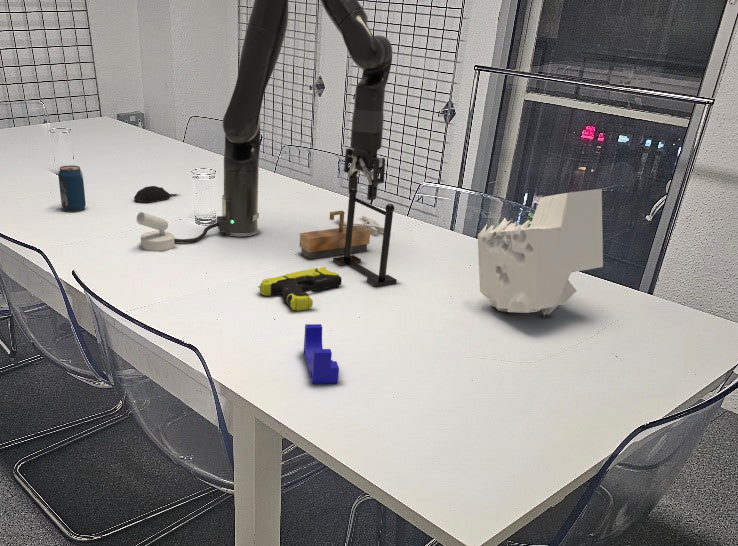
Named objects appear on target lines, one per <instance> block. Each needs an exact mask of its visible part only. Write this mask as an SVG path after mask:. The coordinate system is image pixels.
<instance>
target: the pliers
mask: <svg viewBox="0 0 738 546" xmlns="http://www.w3.org/2000/svg"><path fill="white" fill-rule="evenodd" d="M361 219H362V220H364V224H361V223H353V226H358V225H361V226H363V227H365V228H367V229H369V230H370V231H371V232H370V235H373V236H378V234H381V235H383V233H384V226H381V225H379V224H376V223H375V221H374V220H373V219H372V218H370V217H367V216H364V215H362V216H361ZM339 220H340V219H336V223H337V224H339ZM343 227H347V221H346V222H345V221H344V224H343Z"/></svg>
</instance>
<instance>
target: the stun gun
mask: <svg viewBox="0 0 738 546" xmlns="http://www.w3.org/2000/svg"><path fill="white" fill-rule="evenodd" d="M342 280H343V279H342V276H340V274H339V273H337V272H335V271H331V270H329V269H327V267H325V266H321V267H320V268H319V267H314V268H310V269H303V270H299V271H293V272H290V273H286V274H284V275H280V276H275V277H274V276H273V277H270V278H264V279H263V280H262V281H261V283H260V285H257V288H259V293H260V294H261V295H263V296H267V297H269V296H274V295H277V294H282V299H283V301H284V302H285V304H287V305H288V306H289V307H290V309H292V311H296V312H297V311H306V310H309V309H311V308H312V307H313V305H314V304H313V303H314V301H313V299H312V298H311V296H309V295H308V294H307V292H311V291H320V290H324V289H325V290H326V289H329V288H334V287H338V286H341V285H342V282H343V281H342Z"/></svg>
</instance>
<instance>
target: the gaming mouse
mask: <svg viewBox="0 0 738 546" xmlns="http://www.w3.org/2000/svg"><path fill="white" fill-rule="evenodd" d="M173 196H177V193H170V192H168V191H166V189H165V188H164V187H160V186H156V185H149V186H145V187H143V188H141V189H139V190H138V191H137V192H136V193H135V195H134V196H133V199H134V201H136V202H140V203H154V202H159V201H164V200H169V199H170V198H171V197H173Z"/></svg>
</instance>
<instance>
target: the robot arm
mask: <svg viewBox="0 0 738 546" xmlns="http://www.w3.org/2000/svg"><path fill="white" fill-rule="evenodd" d="M319 1H320V3H321V5H322V8H323V9H324V11H325V13H326V15H327V16H328V17H329V19H330V21H331V22H332V23H333V25H334V27H335V28H336V30H337V31H338V32H339V34H340V35H341V37H342V39H343V43H344V45H345V48H346V50H347V52H348V54H349V56H350V58H351V60H352V62H353V63H354V65H356V66H357V67H358V68H359V70H362V73H361V74H362V75H361V78H360V80H359V82H358V83H357V84H356V86H355V90H354V102H353V112H352V116H351V117H352V118H351V133H350V144H349V145H350V148H346V149H345V155H344V165H343V172H344V173H346V174H347V177H348V186H347V187H348V192H349V189H350V188H356V189H357V190H358V182H359V176H358V175H359V174H360V172H362V173H363V174H364V177H365V178H366V179H367V182H368V183H367V184H368V185H367V195H366V199H367V200H368V201H375V200H376V199H377V196H378V185H380V184H384V183H385V171H386V170H385V169H386V158H385V157H378V151H379V150H380V149H382V143H383V141H382V140H383V131H384V121H385V120H384V119H385V117H384V115H385V114H384V109H385V107H384V106H385V96H386V86H387V83H388V80H389V76H390V72H391V68H392V63H393V62H392V61H393V47H392V44H391V42H390V40H389V39H388V37H386V36H383V35H373V33H372V31H371V30H370V28H369V26H368V15H367V13H366V11H365V10H364V8H363V6H362V5H361V4H360V2H359V1H358V0H319ZM288 23H289V0H254V2H253V4H252V9H251V12H250V16H249V20H248V23H247V26H246V30H245V34H244V37H243V38H244V39H243V43H242V47H241V48H242V49H241V53H240V59H239V64H238V72H237V76H236V77H237V78H236V82H235V86H234V89H233V92H232V95H231V97H230V100H229V103H228V106H227V108H226V110H225V113H224V115H223V117H222V131H223V133H224V155H223V194H222V195H221V199H222V200H221V204H222V205H221V207H222V211H221V213H222V215H217V216H216V222H215V223H212V224H210V225H207V226H206V227H205V228H204V229H203V231H202V233H200V234H199V235H198V236H196V237H193V238H174V243H178V244H190V243H197V242H198V241H199V242H200V240H202V239H203V238H204V237H205V236H206V235H207V233H208V231H210V230H211V229H214V228H217V229H218V232H219V233H220V232H221V233H222V232H223V233H224V235H225V236H226V237H227V236H230V237H231V236H232V237H238V238H239V237H240V238H243V237H244V238H245V237H252V236H255V235H257V234H258V230H259V228H258V219H260V213H259V212H258V211H259V165H260V150H261V149H260V148H261V116H260V115H261V109H262V105H263V100H264V96H265V92H266V90H267V86H268V84H269V81H270V79H271V77H272V75H273V72H274V71H275V67H276V64H277V62H278V60H279V57H280V54H281V51H282V48H283V44H284V40H285V37H286V33H287V30H288ZM349 164H350V165H349Z"/></svg>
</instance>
